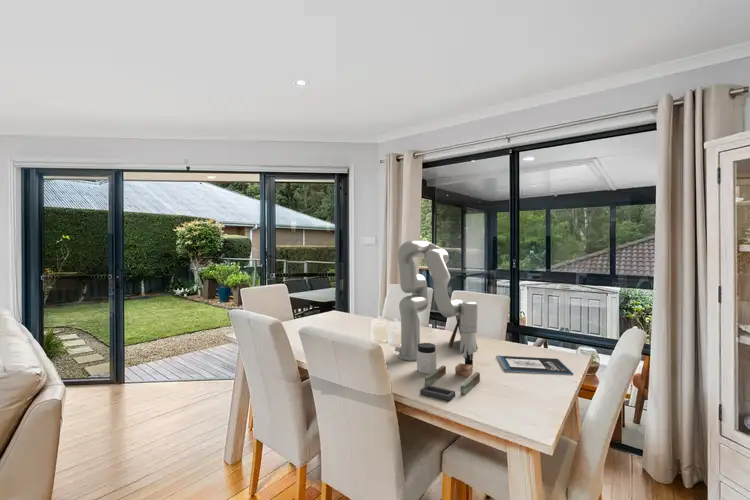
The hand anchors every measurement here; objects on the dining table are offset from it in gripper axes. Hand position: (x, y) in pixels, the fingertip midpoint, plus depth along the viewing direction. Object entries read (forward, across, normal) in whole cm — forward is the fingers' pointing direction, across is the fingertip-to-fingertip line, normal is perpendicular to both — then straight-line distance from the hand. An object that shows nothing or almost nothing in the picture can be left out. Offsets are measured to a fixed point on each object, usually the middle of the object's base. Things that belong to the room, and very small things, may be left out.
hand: (468, 367), depth 179 cm
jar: (+1, +11, -16) cm, 20 cm away
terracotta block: (+1, +6, 0) cm, 6 cm away
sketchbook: (+2, -22, +23) cm, 32 cm away
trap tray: (+1, +34, 0) cm, 34 cm away
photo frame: (+1, -38, -19) cm, 42 cm away
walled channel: (+1, +19, 0) cm, 19 cm away
